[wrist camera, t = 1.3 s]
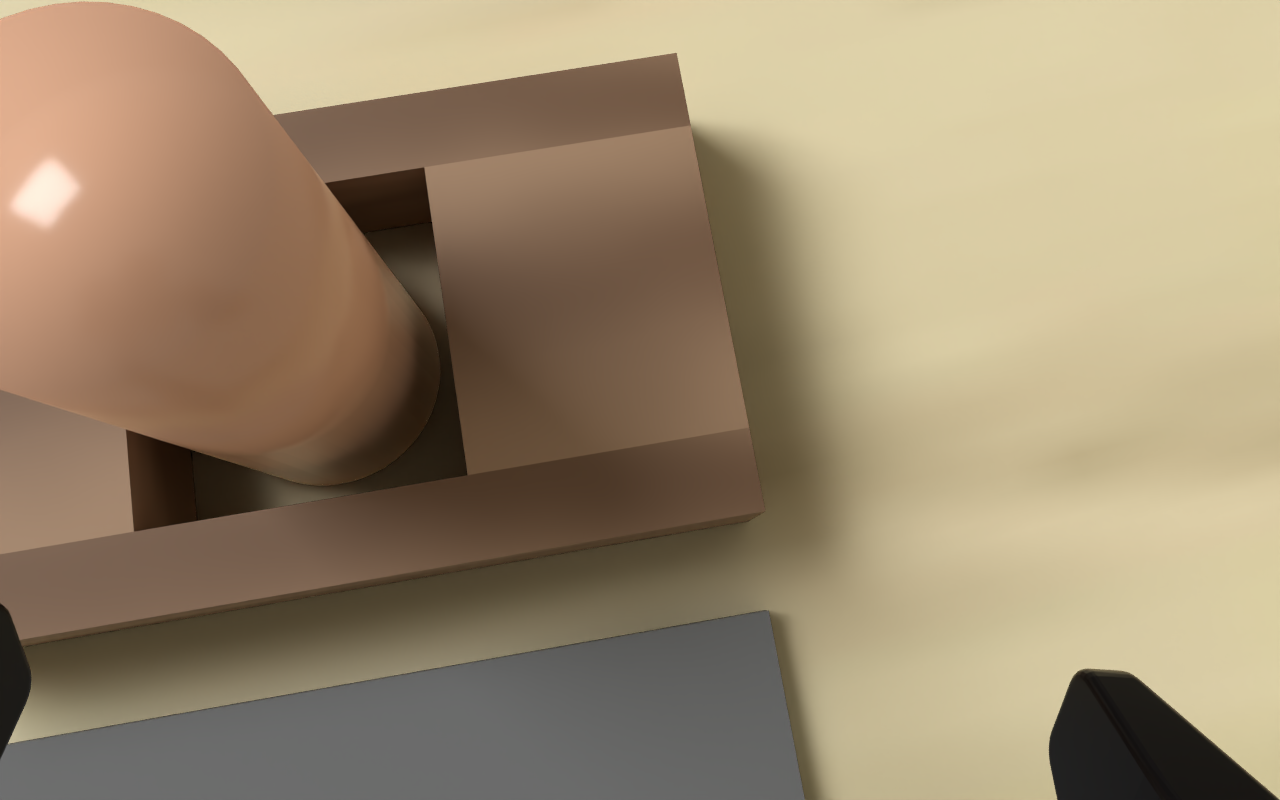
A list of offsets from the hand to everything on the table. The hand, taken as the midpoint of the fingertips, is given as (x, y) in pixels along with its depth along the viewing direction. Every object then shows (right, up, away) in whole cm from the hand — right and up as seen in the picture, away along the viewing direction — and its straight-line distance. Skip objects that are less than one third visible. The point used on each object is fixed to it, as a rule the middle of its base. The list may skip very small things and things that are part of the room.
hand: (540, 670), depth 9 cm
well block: (-6, +3, +15) cm, 16 cm away
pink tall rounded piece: (-6, +3, +15) cm, 16 cm away
